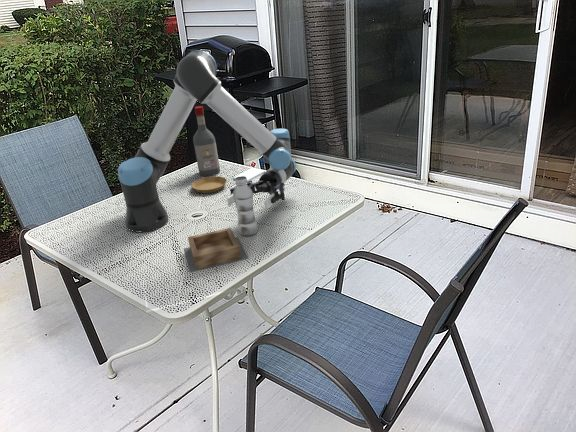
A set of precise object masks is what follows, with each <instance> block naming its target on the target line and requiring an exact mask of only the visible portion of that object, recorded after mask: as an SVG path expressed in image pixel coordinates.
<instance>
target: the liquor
mask: <svg viewBox="0 0 576 432" xmlns="http://www.w3.org/2000/svg"><path fill="white" fill-rule="evenodd" d="M204 110H205V109H204V106H203V105H199V106H195V107H194V113H195V115H196V121H197V130H196V132H195V134H194V135H193V137H192V142H193V146H194V151H195V152H194V153H195V157H196V164H197V169H198V173H199V175H200V176H201V177H212V176H217V175H218V174H220V172H221V168H220V161H219V155H218V148H217V143H216V137H215V136H214V134H213V133H212V132H211V131H210V130H209V129H208V128H207V126H206V120H205V115H204V114H205V112H204Z"/></svg>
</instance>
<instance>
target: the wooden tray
mask: <svg viewBox="0 0 576 432" xmlns="http://www.w3.org/2000/svg"><path fill="white" fill-rule="evenodd" d="M235 237H236V236H235V233H234V231H233V230H232V228H231V227H227V228H224V229H218V230H213V231H210V232H209V231H208V232H204V233H200V234H196V235H191V236H188V237H187V239H188V240H187V241H188V244H189V245H188V246H189V247H190V250H191V253H192V257H193V260H194V264H195V267H196V269H200V268H204V267H208V266H212V265H217V264H221V263H225V262H229V261H234V260H238V259H242V257H241V250H240V246H239V244H238V242H237V240H236V238H235Z"/></svg>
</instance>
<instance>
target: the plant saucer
mask: <svg viewBox="0 0 576 432" xmlns="http://www.w3.org/2000/svg"><path fill="white" fill-rule="evenodd" d="M227 180H228V179H227V178H226V177H223V176H220V175H219V176H217V175H211V176H204V177H202V178H199V179H197V180H194V181H193V182H192V183H191V188H192V189H193V190H195V191H196V192H198V193H199V194H200V193H201V194H212V193H215V192H218V191H220V190H221V189H223V188H224V187H225V185H226V184H227Z"/></svg>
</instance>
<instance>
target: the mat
mask: <svg viewBox="0 0 576 432" xmlns="http://www.w3.org/2000/svg"><path fill="white" fill-rule="evenodd" d="M235 238H236V240H237V242H238V244H239V246H240V250H241V257H242V259H238V260H234V261H229V262H225V263H221V264H217V265H212V266H208V267H204V268H200V269H196V267H195V264H194V260H193V257H192V253H191V250H190V246H189V247H185V248H183V251H184V255H185V259H186V263H187V265H188V271H189V273H195V272H198V271H203V270H206V269H212V268H215V267H220V266H224V265H228V264H233V263H237V262H242V261H245V260H249V259H250V258H249V256H248V254H247V252H246V250H245V248H244V247H243V244H242V243H241V241H240V238H239V237H238V236H235Z"/></svg>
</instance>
